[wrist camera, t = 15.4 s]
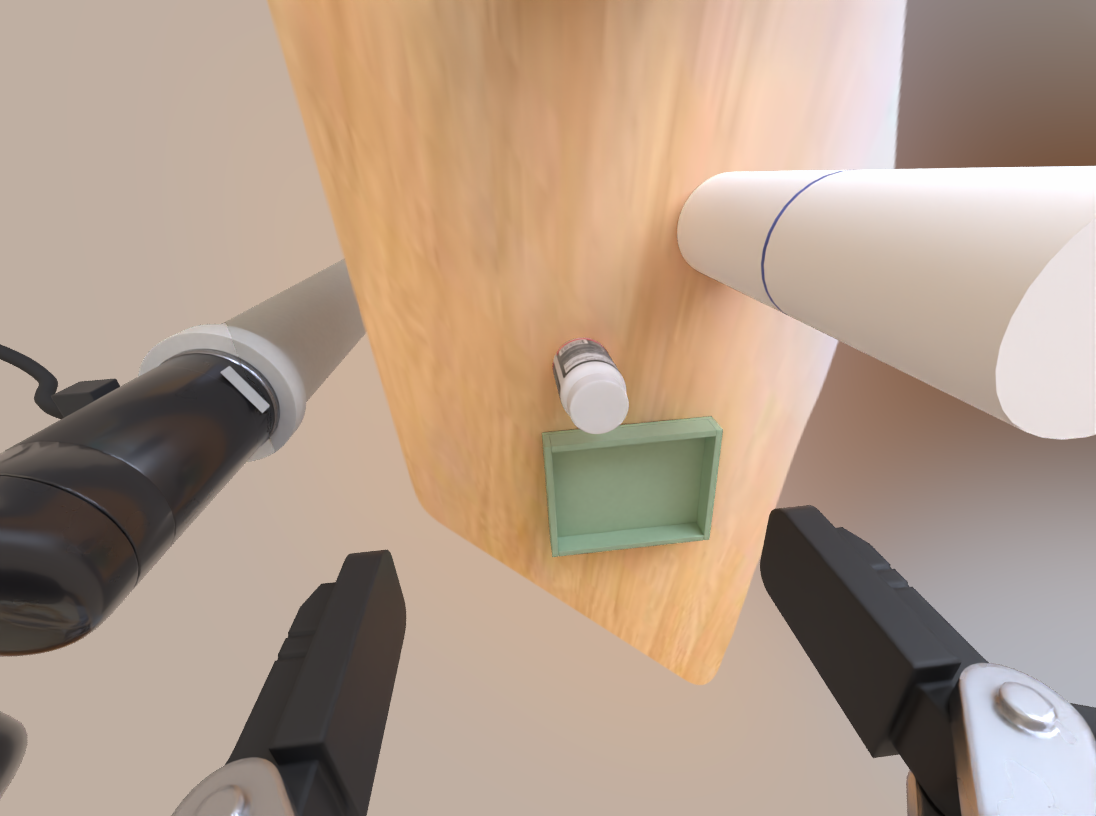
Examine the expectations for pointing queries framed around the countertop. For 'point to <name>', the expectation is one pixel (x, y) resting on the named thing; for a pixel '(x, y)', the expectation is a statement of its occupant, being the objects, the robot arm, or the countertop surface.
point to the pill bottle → (590, 386)
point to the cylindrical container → (925, 274)
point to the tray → (631, 485)
